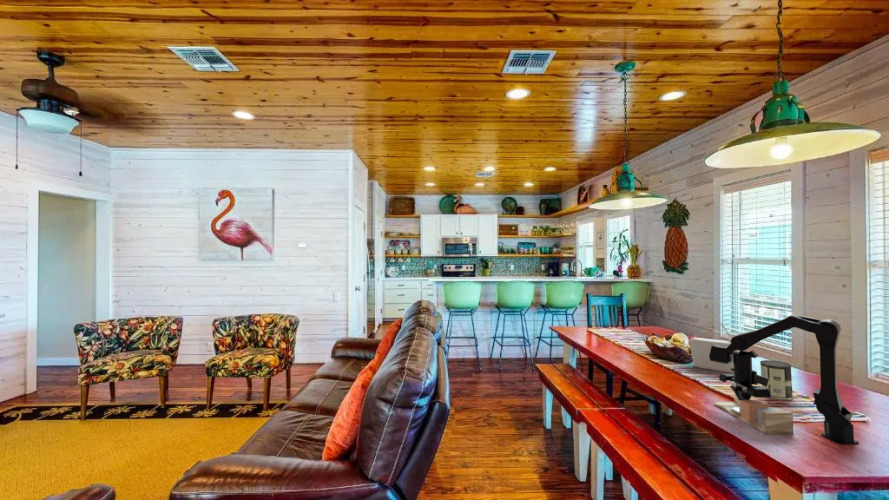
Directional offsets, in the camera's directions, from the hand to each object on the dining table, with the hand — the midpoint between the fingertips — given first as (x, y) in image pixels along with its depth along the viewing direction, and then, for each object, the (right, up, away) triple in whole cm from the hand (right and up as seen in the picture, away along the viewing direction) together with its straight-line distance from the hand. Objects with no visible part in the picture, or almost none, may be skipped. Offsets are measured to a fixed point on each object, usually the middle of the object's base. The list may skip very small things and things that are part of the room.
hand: (744, 406), depth 144 cm
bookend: (0, -2, 0) cm, 2 cm away
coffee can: (+29, -3, +17) cm, 34 cm away
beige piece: (0, -3, -3) cm, 4 cm away
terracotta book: (0, -2, -5) cm, 5 cm away
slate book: (0, -3, -12) cm, 13 cm away
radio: (+29, -3, +55) cm, 63 cm away
